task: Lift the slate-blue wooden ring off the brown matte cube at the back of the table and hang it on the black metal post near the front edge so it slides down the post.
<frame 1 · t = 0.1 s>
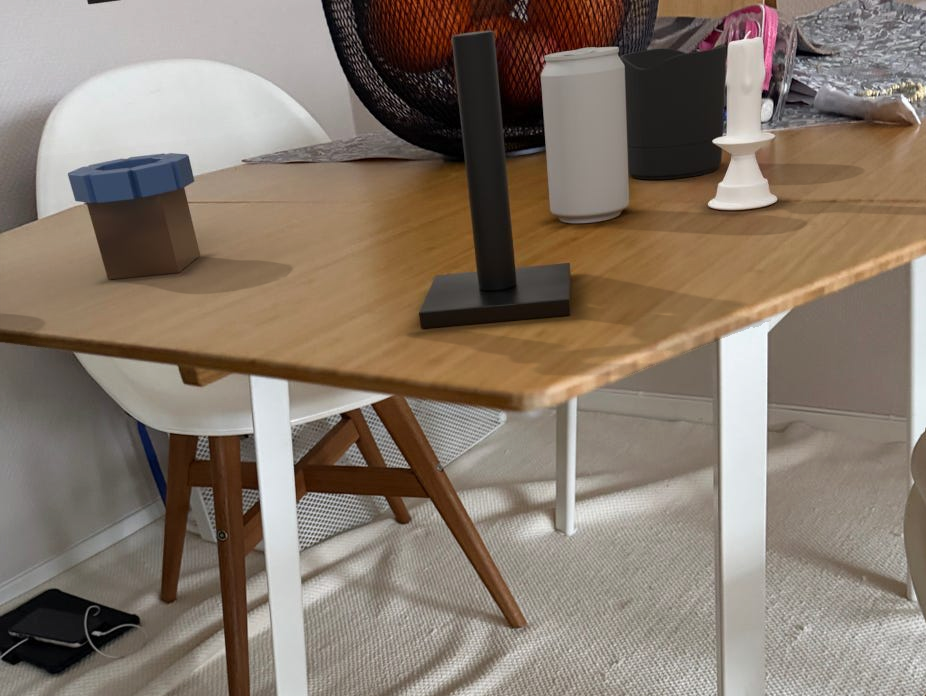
candle: (742, 206, 86), on the table
pen holder: (674, 173, 102), on the table
brown matte cube: (155, 267, 90), on the table
beverage can: (590, 219, 89), on the table
ring: (135, 190, 87), point 6 cm above the table, touching brown matte cube
post stand: (499, 302, 69), on the table
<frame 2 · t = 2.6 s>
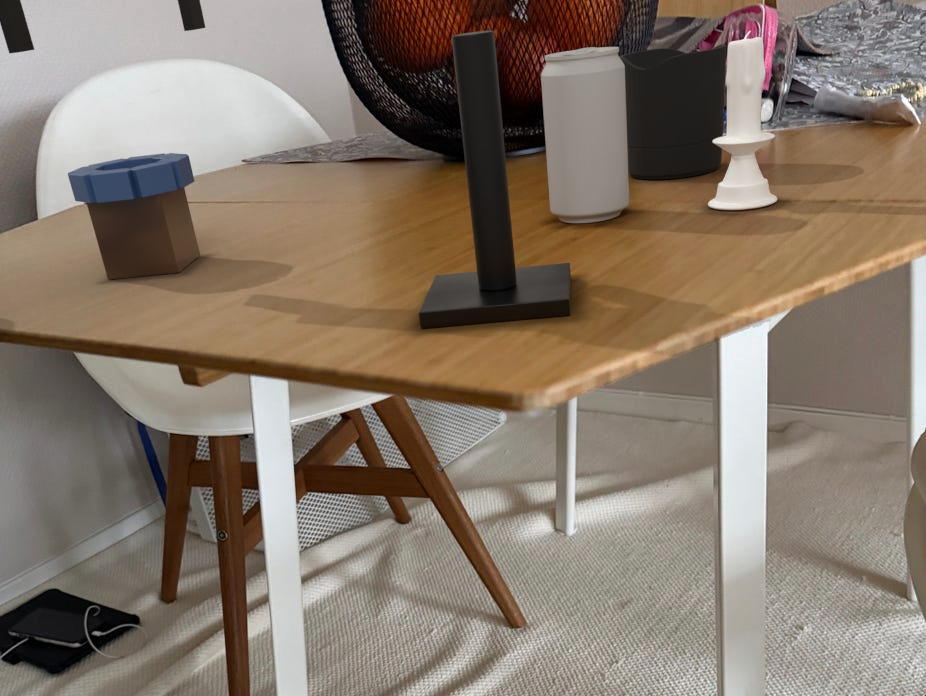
hand: (107, 41, 81), 16 cm above the table, tool pointing down, fingers open, 13 cm apart
nothing on the table moved.
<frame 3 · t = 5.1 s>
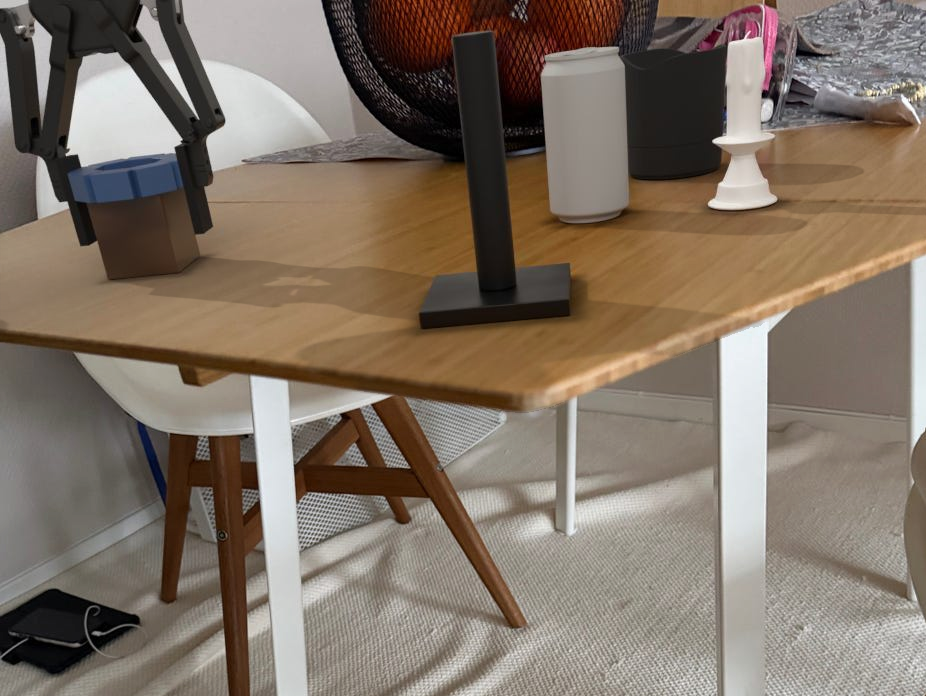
hand: (147, 236, 89), 2 cm above the table, tool pointing down, fingers closed on ring, 9 cm apart
ring: (135, 190, 87), point 6 cm above the table, touching gripper, brown matte cube
everything else where it was.
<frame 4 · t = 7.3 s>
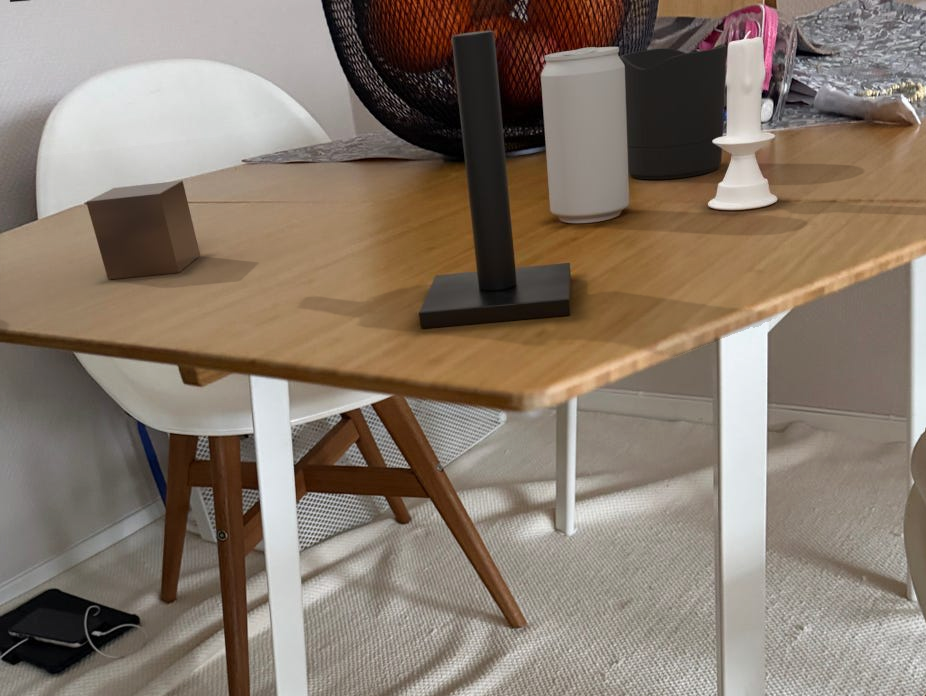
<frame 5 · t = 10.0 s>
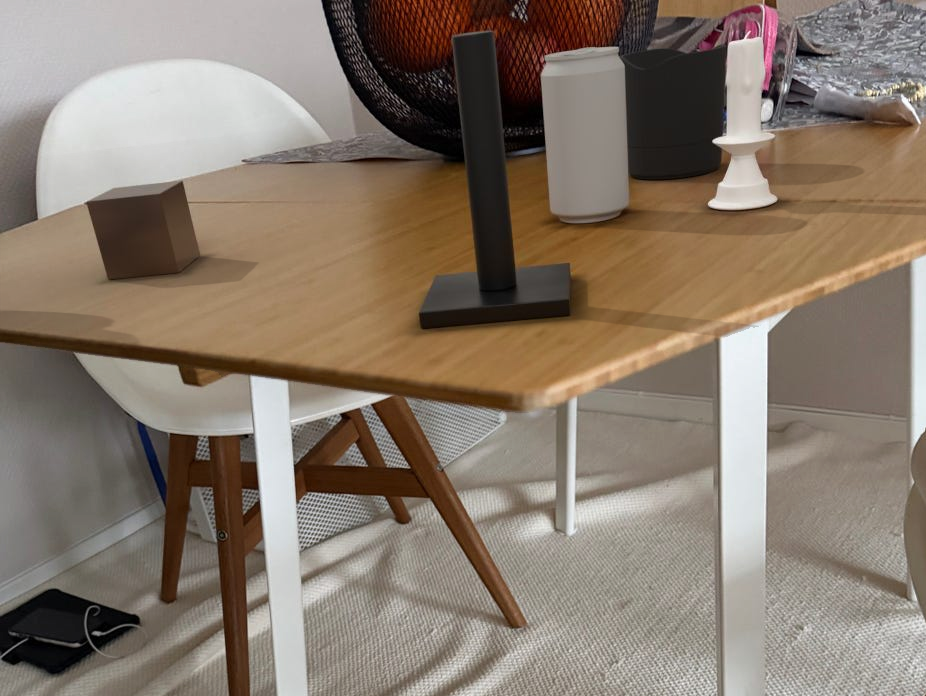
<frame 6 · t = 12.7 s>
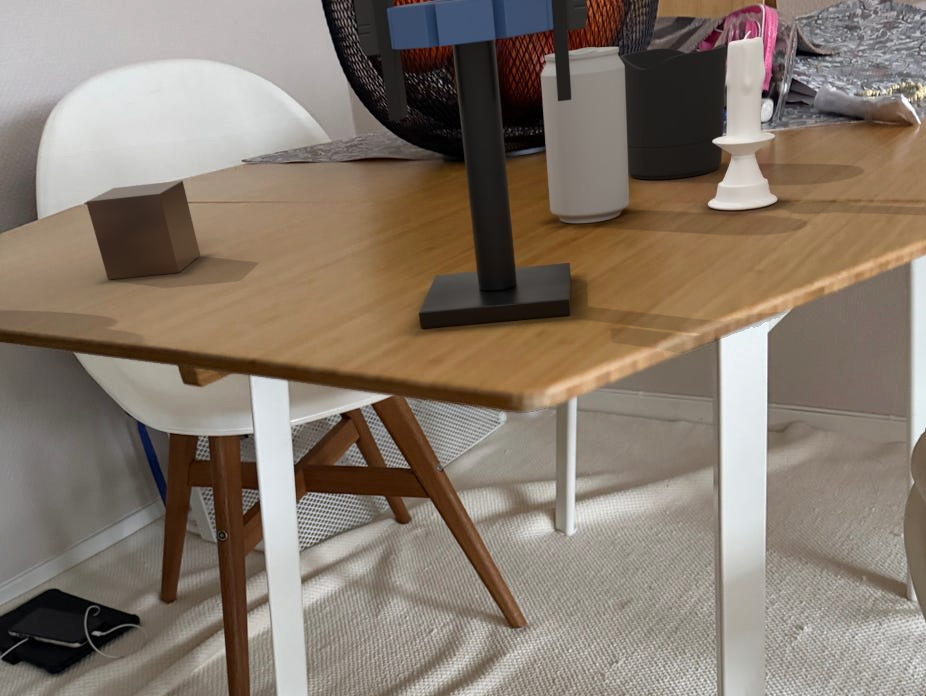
hand: (481, 107, 63), 11 cm above the table, tool pointing down, fingers closed on ring, 9 cm apart
ring: (474, 38, 61), point 15 cm above the table, touching gripper
everything else where it was.
when the fingers open (5 cm above the table, at t = 14.9 s): ring drops 8 cm, resting on post stand.
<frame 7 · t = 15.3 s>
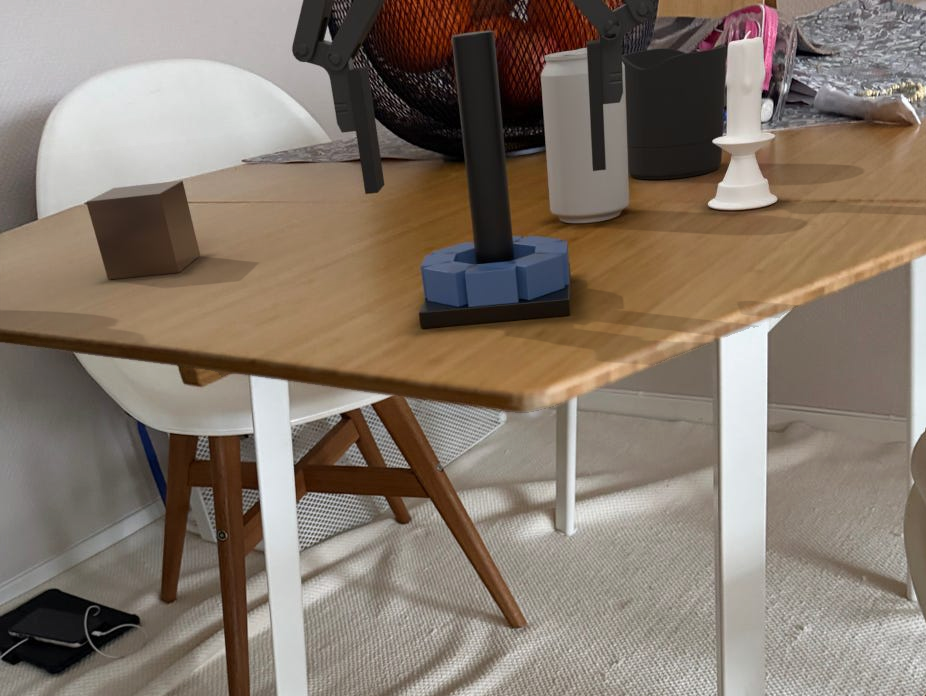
hand: (485, 179, 65), 7 cm above the table, tool pointing down, fingers open, 13 cm apart
ring: (497, 286, 69), point 1 cm above the table, touching post stand
everything else where it was.
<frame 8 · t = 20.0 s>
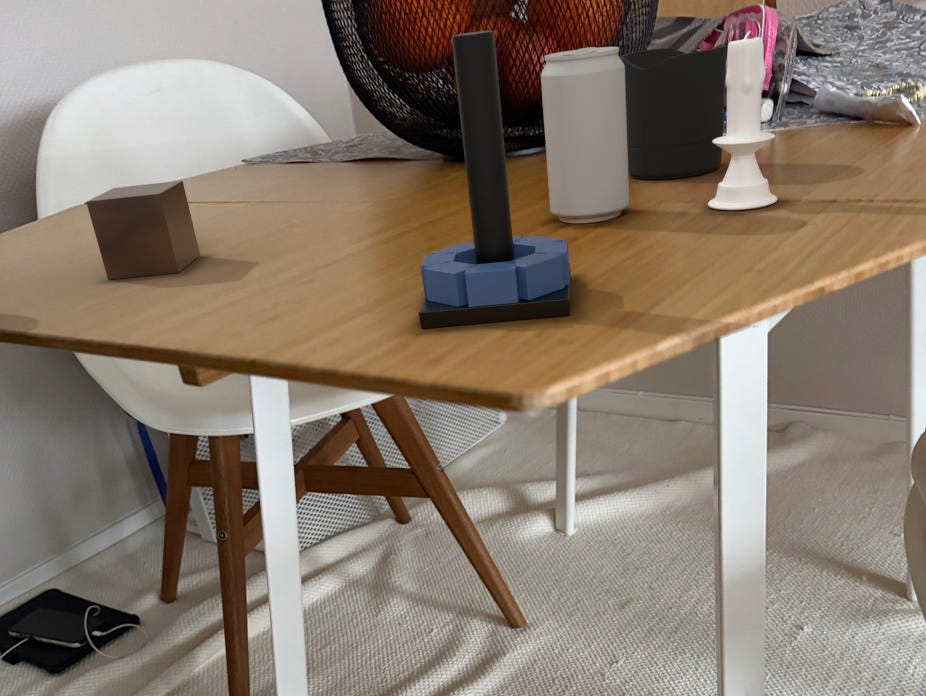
nothing on the table moved.
at the end: ring 0.0 cm from the post stand (horizontally); ring point 1.0 cm above the table; the gripper is holding nothing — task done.
